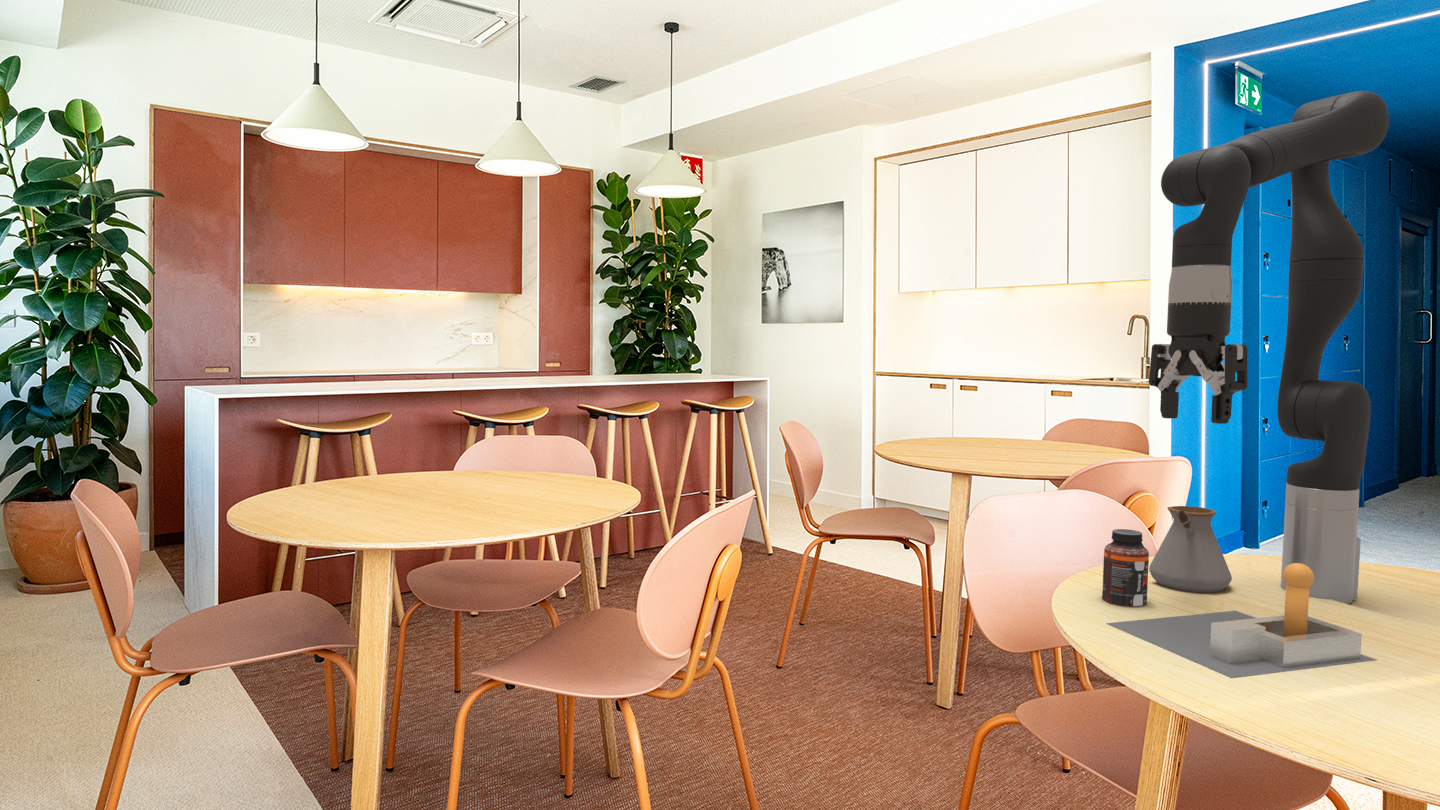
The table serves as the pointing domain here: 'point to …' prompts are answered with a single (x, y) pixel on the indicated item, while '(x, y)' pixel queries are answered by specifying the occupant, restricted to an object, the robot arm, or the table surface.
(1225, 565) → the coffee pot
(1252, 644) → the steel link
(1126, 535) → the supplement bottle
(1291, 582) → the pin
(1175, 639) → the rubber mat
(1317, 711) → the table surface
